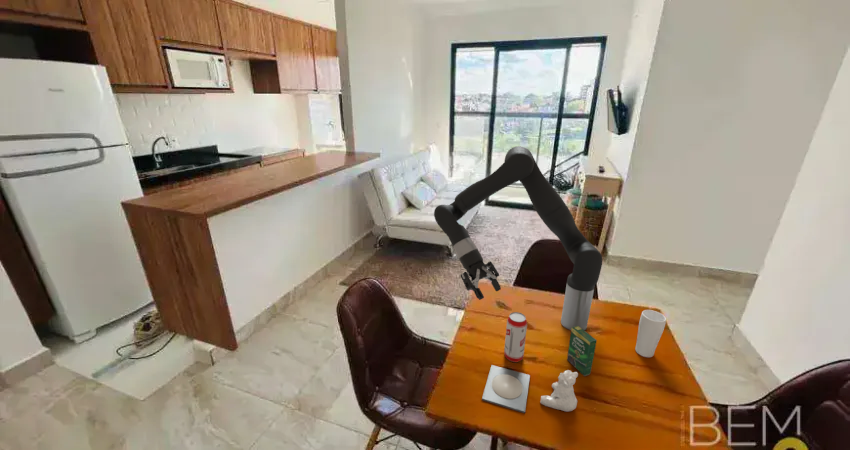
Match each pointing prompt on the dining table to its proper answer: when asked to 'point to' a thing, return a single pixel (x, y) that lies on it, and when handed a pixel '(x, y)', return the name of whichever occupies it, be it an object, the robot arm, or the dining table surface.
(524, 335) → the beer can
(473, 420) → the dining table surface
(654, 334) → the drinking glass
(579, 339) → the coffee box
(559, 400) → the seated beast figurine
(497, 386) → the card
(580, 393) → the dining table surface
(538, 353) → the dining table surface
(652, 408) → the dining table surface
